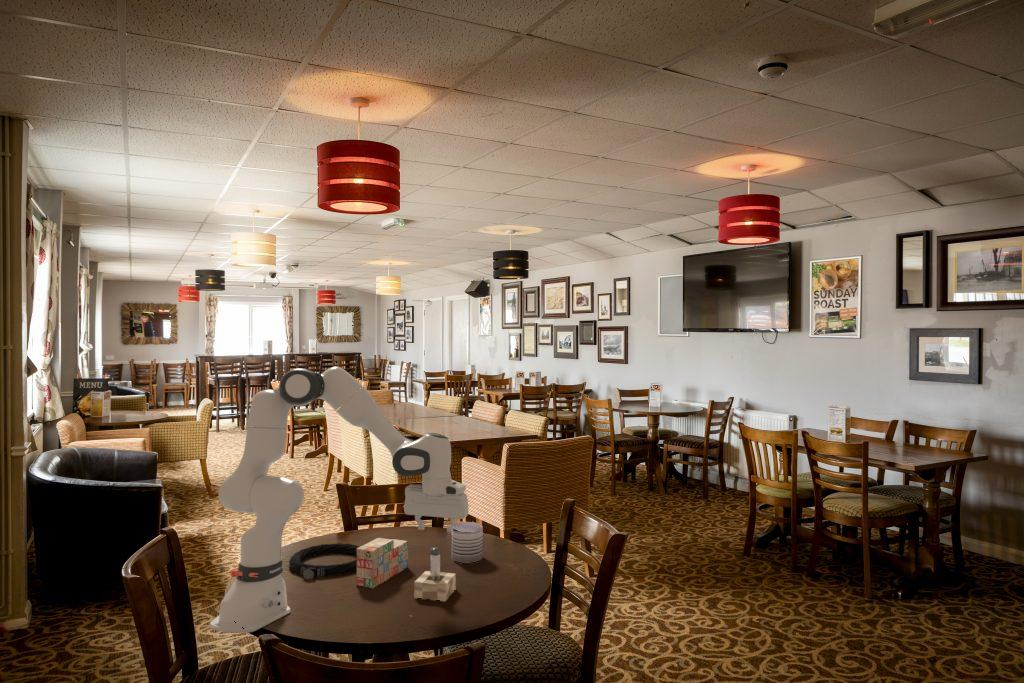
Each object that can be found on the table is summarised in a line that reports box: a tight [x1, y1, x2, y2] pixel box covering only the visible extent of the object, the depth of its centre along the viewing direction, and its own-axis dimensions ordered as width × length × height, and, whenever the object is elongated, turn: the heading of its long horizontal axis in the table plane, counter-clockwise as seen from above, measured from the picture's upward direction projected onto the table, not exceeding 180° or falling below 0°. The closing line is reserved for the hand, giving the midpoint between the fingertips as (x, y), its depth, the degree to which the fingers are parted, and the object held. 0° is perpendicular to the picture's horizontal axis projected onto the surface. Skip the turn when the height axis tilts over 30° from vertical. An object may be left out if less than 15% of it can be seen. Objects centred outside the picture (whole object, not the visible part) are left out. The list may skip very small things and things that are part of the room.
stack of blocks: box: [355, 537, 409, 589], centre depth 221 cm, size 21×6×12 cm, turn 157°
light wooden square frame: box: [413, 570, 457, 602], centre depth 206 cm, size 10×10×5 cm
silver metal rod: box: [429, 546, 441, 581], centre depth 206 cm, size 3×3×14 cm
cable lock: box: [288, 542, 361, 580], centre depth 232 cm, size 28×4×30 cm
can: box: [451, 521, 484, 563], centre depth 239 cm, size 11×11×12 cm
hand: (435, 530), depth 205 cm, fingers open, 8 cm apart
